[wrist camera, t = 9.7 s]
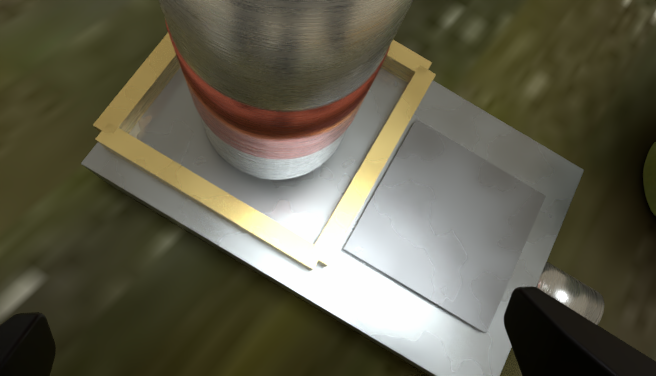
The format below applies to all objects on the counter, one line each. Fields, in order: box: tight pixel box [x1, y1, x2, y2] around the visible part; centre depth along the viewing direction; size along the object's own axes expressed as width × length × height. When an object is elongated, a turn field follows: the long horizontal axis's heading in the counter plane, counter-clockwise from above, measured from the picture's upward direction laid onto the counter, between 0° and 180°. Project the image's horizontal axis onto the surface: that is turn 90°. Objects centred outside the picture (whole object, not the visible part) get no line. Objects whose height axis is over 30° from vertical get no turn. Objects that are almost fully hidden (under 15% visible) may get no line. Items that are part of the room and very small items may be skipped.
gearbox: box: [81, 33, 604, 376], centre depth 20 cm, size 21×11×4 cm, turn 60°
